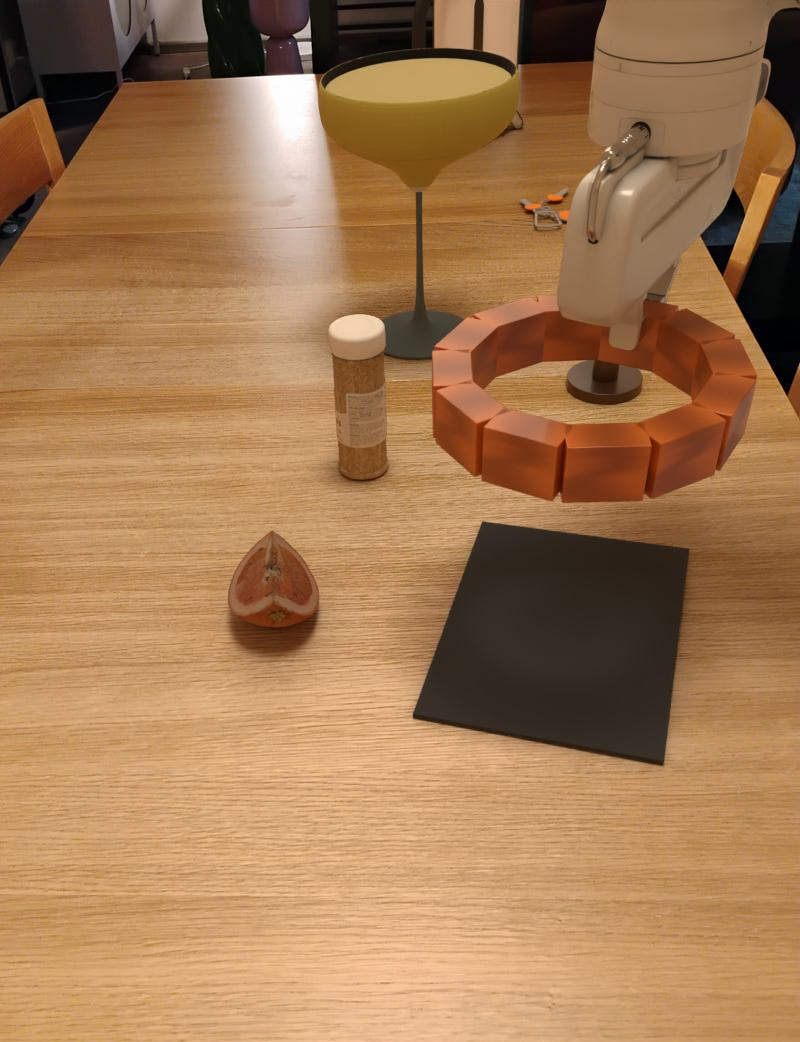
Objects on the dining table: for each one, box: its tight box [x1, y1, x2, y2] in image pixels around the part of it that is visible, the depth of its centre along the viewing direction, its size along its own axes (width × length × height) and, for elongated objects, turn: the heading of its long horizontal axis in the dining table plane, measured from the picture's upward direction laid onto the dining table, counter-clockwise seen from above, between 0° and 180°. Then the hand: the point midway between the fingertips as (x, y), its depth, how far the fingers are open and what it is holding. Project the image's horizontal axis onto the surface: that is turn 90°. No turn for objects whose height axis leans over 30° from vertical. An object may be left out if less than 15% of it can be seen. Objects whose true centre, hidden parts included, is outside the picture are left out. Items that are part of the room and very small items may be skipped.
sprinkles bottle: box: [327, 313, 390, 481], centre depth 86 cm, size 5×5×13 cm
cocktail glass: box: [317, 47, 521, 360], centre depth 100 cm, size 18×18×25 cm
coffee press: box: [411, 0, 525, 130], centre depth 146 cm, size 17×16×30 cm
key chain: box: [518, 187, 570, 229], centre depth 130 cm, size 13×7×1 cm, turn 179°
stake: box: [565, 360, 644, 405], centre depth 96 cm, size 7×7×6 cm
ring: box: [431, 294, 758, 504], centre depth 62 cm, size 18×18×4 cm
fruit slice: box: [227, 530, 320, 628], centre depth 75 cm, size 8×7×5 cm
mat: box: [412, 521, 690, 766], centre depth 73 cm, size 22×16×1 cm
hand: (636, 332), depth 67 cm, fingers closed on ring, 2 cm apart
